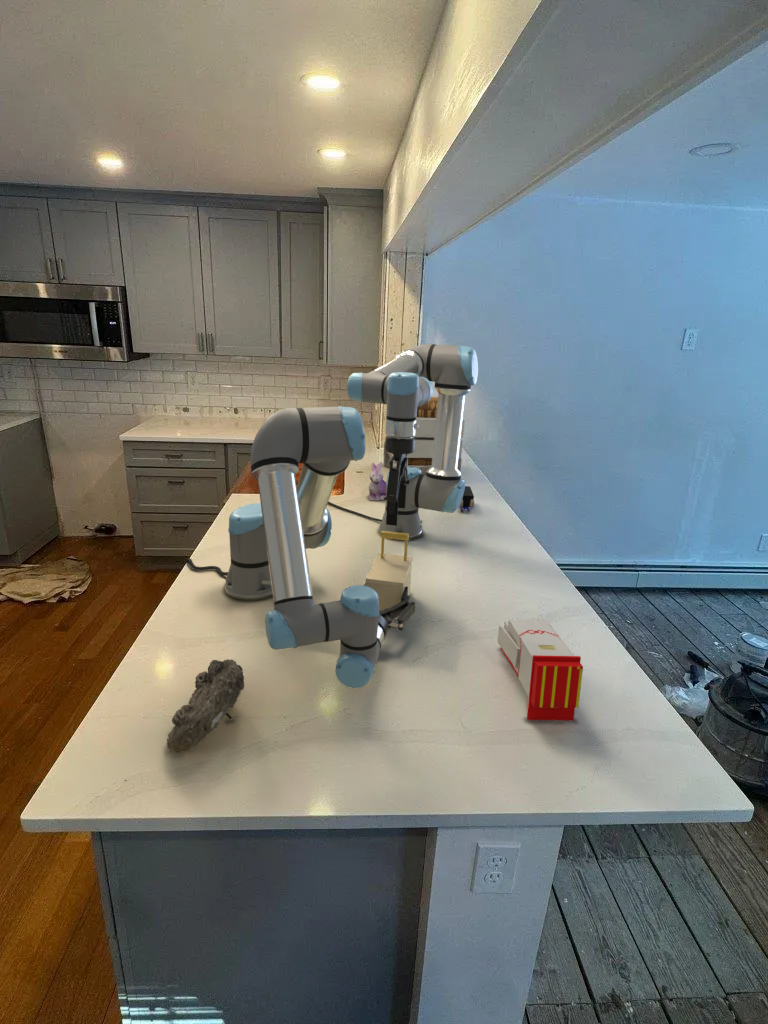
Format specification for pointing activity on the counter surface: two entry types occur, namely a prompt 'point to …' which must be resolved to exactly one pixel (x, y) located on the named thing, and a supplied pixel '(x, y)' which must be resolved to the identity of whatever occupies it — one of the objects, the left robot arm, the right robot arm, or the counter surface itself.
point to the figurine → (377, 483)
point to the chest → (390, 592)
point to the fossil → (206, 705)
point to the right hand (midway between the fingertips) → (396, 515)
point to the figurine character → (467, 499)
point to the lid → (390, 563)
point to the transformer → (424, 437)
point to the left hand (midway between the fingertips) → (386, 588)
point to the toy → (542, 668)
